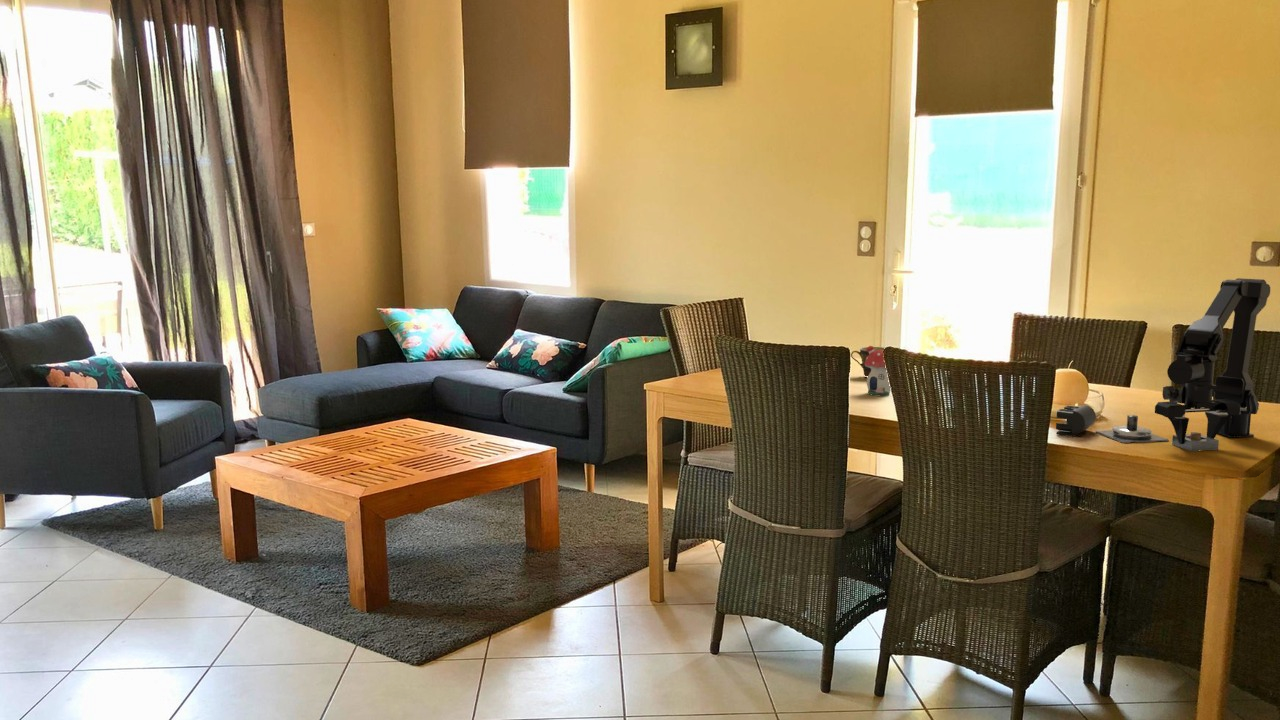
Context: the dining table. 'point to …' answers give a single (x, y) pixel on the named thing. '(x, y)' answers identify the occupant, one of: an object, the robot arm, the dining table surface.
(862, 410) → the dining table surface
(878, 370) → the decorative ornament
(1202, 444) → the grey square base
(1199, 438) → the stand post
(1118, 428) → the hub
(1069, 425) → the end cap
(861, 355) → the ceramic cup
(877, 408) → the dining table surface
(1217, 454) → the dining table surface
